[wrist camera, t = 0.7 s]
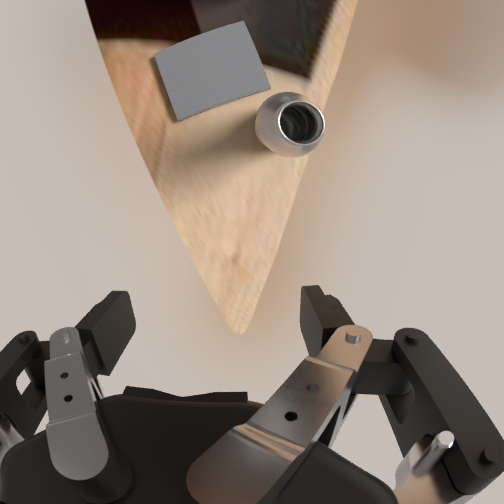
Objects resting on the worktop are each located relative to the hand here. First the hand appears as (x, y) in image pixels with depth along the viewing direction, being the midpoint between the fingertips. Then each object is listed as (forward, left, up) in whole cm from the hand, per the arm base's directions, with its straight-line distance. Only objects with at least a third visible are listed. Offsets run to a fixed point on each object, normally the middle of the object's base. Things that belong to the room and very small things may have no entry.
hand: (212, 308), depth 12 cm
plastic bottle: (-6, +8, -31) cm, 33 cm away
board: (-18, +2, -31) cm, 36 cm away
